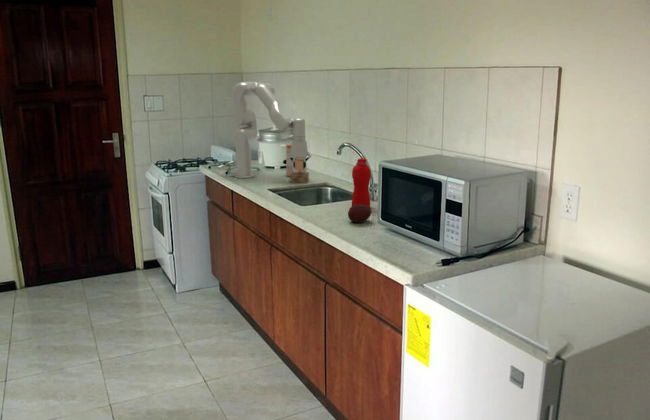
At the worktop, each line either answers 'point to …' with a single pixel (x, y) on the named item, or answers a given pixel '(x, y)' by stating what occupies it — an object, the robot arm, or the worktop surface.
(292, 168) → the cracker box
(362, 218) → the potato
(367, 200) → the water bottle
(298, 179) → the walnut base
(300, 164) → the terracotta block
